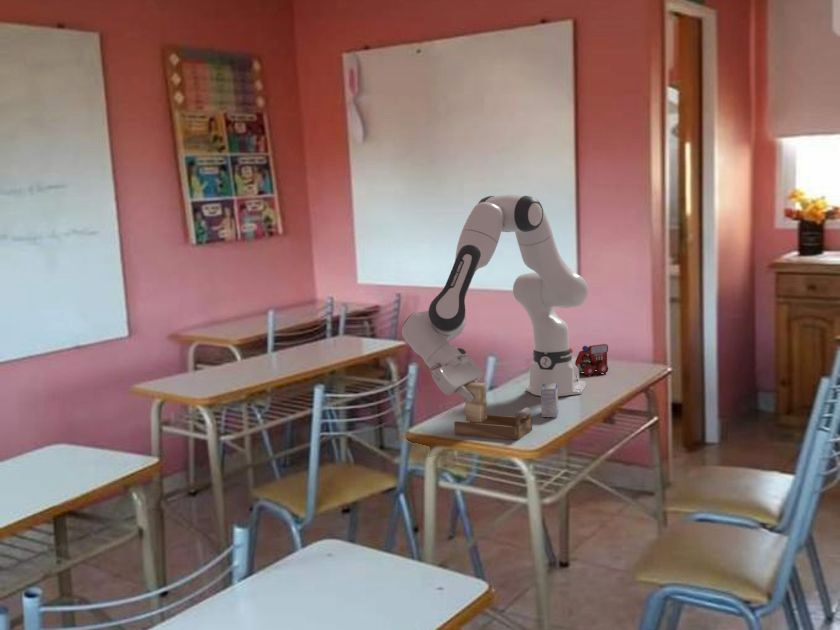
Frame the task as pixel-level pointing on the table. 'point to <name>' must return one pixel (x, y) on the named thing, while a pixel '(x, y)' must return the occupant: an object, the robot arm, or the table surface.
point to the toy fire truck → (592, 359)
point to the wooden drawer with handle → (498, 426)
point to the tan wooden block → (476, 403)
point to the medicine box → (549, 400)
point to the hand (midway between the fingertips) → (477, 397)
